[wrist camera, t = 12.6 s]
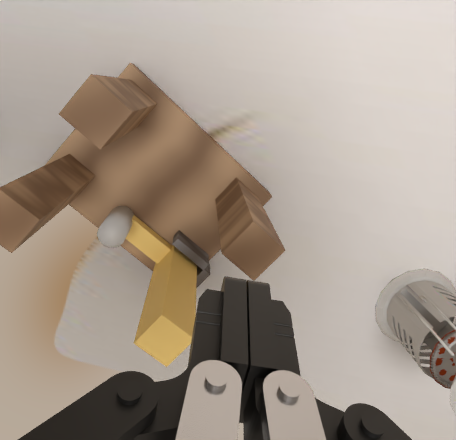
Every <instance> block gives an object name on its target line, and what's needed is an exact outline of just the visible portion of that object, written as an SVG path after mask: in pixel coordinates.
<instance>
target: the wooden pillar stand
mask: <svg viewBox="0 0 456 440" xmlns="http://www.w3.org/2000/svg"><path fill="white" fill-rule="evenodd" d="M59 115H60V116H62V117H63V118H64V119H65V120H66V121H67V122H69V123H70V124H71V125H72V126H73V127H74V128H76V129H75V130H74V131H73V132H72V133H71V135H70V136H69V137H68V138H67V139H66V141H65V142H64V143H63V144H62V145H61V147H60V148H59V149H58V150H57V151H56V153H55V154H54V155H53V156H52V157H51V159H50V160H49V161H48V162H47V163H46V165H45V166H43V167H41V168H39V169H37V170H35V171H33V172H31V173H29V174H27V175H25V176H22V177H20V178H18V179H16V180H14V181H12V182H10V183H8V184H6V185H4V186H2V187H0V245H1V246H2V247H4V248H5V249H7V250H8V251H9V252H11V253H12V252H13V251H14V250H16V249H17V248H18V247H19V246H20V245H21V244H23V243H24V242H25V241H26V240H27V239H28V238H29V237H31V236H32V235H33V234H34V233H35V232H37V231H38V230H39V229H40V228H41V227H42V226H44V225H45V224H46V223H47V222H48V221H49V220H51V219H52V218H53V217H54V216H55V215H56V214H58V213H59V212H60V211H61V210H62V209H63V208H65V207H66V206H67V205H68V204H69V205H70V206H71V207H73V208H74V209H75V210H76V211H78V212H79V213H80V214H81V215H83V216H84V217H85V218H87V219H88V220H89V221H90V222H92V223H93V224H94V225H96V226H97V227H98V228H99V227H100V226H101V224H102V223H103V222H104V220H105V219H106V218H107V216H108V215H109V214H110V212H111V211H112V210H113V209H114V208H115V207H117V206H126V207H128V208H130V209H131V210H132V211H133V213H134V215H135V216H136V217H137V218H138V219H140V220H141V221H142V222H143V223H145V224H146V225H147V226H148V227H150V228H151V229H152V230H153V231H154V232H156V233H157V234H158V235H159V236H161V237H162V238H163V239H164V240H165V241H167V242H168V243H169V244H170V245H173V246H175V247H176V248H177V249H178V250H180V251H181V252H182V253H183V254H184V255H186V256H187V257H188V258H189V259H190V260H192V261H193V262H194V263H195V264H196V265H197V283H196V288H197V287H198V286H199V285H200V284H201V283H202V282H203V281H204V280H205V279H206V278H207V277H208V276H209V275H210V264H209V260H210V259H211V258H212V257H213V256H214V255H215V254H216V253H217V252H218V251H219V250H220V249H221V251H222V254H223V255H224V256H225V257H227V258H228V259H229V260H230V261H231V262H232V263H234V264H235V265H236V266H237V267H238V268H240V269H241V270H242V271H243V272H244V273H245V274H247V275H248V276H249V277H250V278H251V279H252V280H255V279H256V278H257V277H258V276H259V275H260V274H262V273H263V272H264V271H265V270H266V269H267V268H268V267H269V266H270V265H271V264H272V263H273V262H274V261H275V260H276V259H277V258H278V257H279V256H280V255H281V254H282V253H283V252H284V251H285V249H284V247H283V245H282V243H281V241H280V239H279V237H278V235H277V233H276V231H275V229H274V227H273V225H272V223H271V221H270V219H269V218H268V216H267V214H266V212H265V210H264V208H263V206H264V205H265V204H266V203H267V202H268V201H269V200H270V199H271V198H272V196H271V194H270V193H269V191H268V190H266V189H265V188H264V187H263V186H262V185H261V184H260V183H259V182H258V181H257V180H256V179H255V178H254V177H253V176H252V175H251V174H250V173H248V172H247V171H246V170H245V169H244V168H243V167H242V166H241V165H240V164H239V163H238V162H237V161H236V160H235V159H234V158H233V157H231V156H230V155H229V154H228V153H227V152H226V151H225V150H224V149H223V148H222V147H221V146H220V145H219V144H218V143H217V142H216V141H215V140H213V139H212V138H211V137H210V136H209V135H208V134H207V133H206V132H205V131H204V130H203V129H202V128H201V127H200V126H199V125H198V124H197V123H195V122H194V121H193V120H192V119H191V118H190V117H189V116H188V115H187V114H186V113H185V112H184V111H183V110H182V109H181V108H180V107H179V106H177V105H176V104H175V103H174V102H173V101H172V100H171V99H170V98H169V97H168V96H167V95H166V94H165V93H164V92H163V91H162V90H161V89H159V88H158V87H157V86H156V85H155V84H154V83H153V82H152V81H151V80H150V79H149V78H148V77H147V76H146V75H145V74H144V73H143V72H141V71H140V70H139V69H138V68H137V67H136V66H135V65H134V64H132V63H130V64H129V65H128V66H127V67H126V68H125V70H124V71H123V72H122V73H121V74H120V76H119V77H118V78H115V77H107V76H100V75H92V74H91V75H90V76H89V77H88V79H87V80H86V81H85V82H84V84H83V85H82V86H81V87H80V88H79V90H78V91H77V92H76V93H75V95H74V96H73V97H72V98H71V100H70V101H69V102H68V103H67V104H66V106H65V107H64V108H63V109H62V111H61V112H60V113H59ZM121 246H122V247H123V248H124V249H126V250H127V251H128V252H129V253H131V254H132V255H133V256H134V257H136V258H137V259H138V260H140V261H141V262H142V263H143V264H145V265H146V266H147V267H148V268H150V269H151V270H152V271H153V270H154V266H155V263H156V262H154V261H153V260H152V259H150V258H149V257H148V256H147V255H145V254H144V253H143V252H142V251H140V250H139V249H138V248H137V247H135V246H134V245H133V244H132V243H130V242H129V241H128V240H127V239H125V240H124V242H123V243H122V244H121Z"/></svg>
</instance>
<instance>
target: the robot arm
mask: <svg viewBox="0 0 456 440" xmlns="http://www.w3.org/2000/svg"><path fill="white" fill-rule="evenodd" d="M239 422H240V423H244V440H412V439H411V438H410V437H409V436H408V435H407V434H406V433H404V432H403V431H402V430H401V429H400V428H399V427H398V426H397V425H396V424H395V423H394V422H393V421H392V420H391V419H390V418H389V417H388V416H387V415H385V414H384V413H383V412H382V411H380V410H379V409H377V408H375V407H373V406H371V405H367V404H362V403H358V404H353V405H351V406H349V407H348V408H347V409H346V411H345V412H343V411H341V410H338V409H336V408H334V407H332V406H329V405H327V404H325V403H323V402H321V401H320V400H318V399H316V398H315V396H314V393H313V390H312V388H311V386H310V385H309V384H308V382H307V381H306V380H305V379H303V378H302V377H301V376H300V370H299V364H298V357H297V351H296V345H295V339H294V332H293V328H292V320H291V314H290V312H289V310H288V309H287V307H286V306H285V304H284V303H283V301H277V300H271V294H270V285H269V284H268V283H261V282H255V281H249V280H247V282H246V280H244V279H237V278H231V277H224V279H223V283H222V288H221V291H215V290H209V289H207V290H206V291H205V292H204V293H203V294H202V296H201V297H200V298H199V302H198V307H197V312H196V317H195V323H194V328H193V333H192V341H191V348H190V355H189V362H188V368H187V369H186V370H185V371H184V372H183V373H182V374H181V375H179V376H178V377H176V378H173V379H170V380H166V381H159V382H154V381H153V380H152V379H151V378H150V377H149V376H147V375H145V374H143V373H140V372H136V371H127V372H122V373H119V374H116V375H114V376H113V377H111V378H109V379H108V380H107V381H105V382H104V383H102V384H100V385H99V386H98V387H96V388H95V389H93V390H92V391H90V392H89V393H87V394H86V395H84V396H83V397H81V398H80V399H78V400H77V401H75V402H74V403H72V404H71V405H69V406H68V407H66V408H65V409H63V410H62V411H60V412H59V413H57V414H56V415H54V416H53V417H51V418H50V419H48V420H47V421H45V422H44V423H42V424H41V425H39V426H38V427H36V428H35V429H33V430H32V431H30V432H29V433H27V434H26V435H24V436H23V437H21V438H20V439H18V440H238V429H239Z"/></svg>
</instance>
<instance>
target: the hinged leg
mask: <svg viewBox="0 0 456 440" xmlns="http://www.w3.org/2000/svg"><path fill="white" fill-rule="evenodd" d="M97 236H98V239H99V241H100V242H101V243H102V244H103V245H105V246H107V247H111V248H114V247H118V246H120V245H121V244H122V243H123V242H124V240H125V239H127V240H128V241H129V242H130V243H132V244H133V245H134V246H135V247H137V248H138V249H139V250H140V251H142V252H143V253H144V254H145V255H147V256H148V257H149V258H150V259H152V260H153V261H154V262H156V263H155V266H154V270H153V274H152V277H151V281H150V285H149V289H148V292H147V296H146V300H145V303H144V307H143V311H142V315H141V318H140V322H139V326H138V329H137V333H136V337H135V341H134V344H135V345H137V346H138V347H140V348H141V349H142V350H144V351H145V352H147V353H148V354H149V355H151V356H152V357H154V358H155V359H156V360H158V361H159V362H161V363H162V364H163V365H165V366H166V367H167V366H168V365H169V364H170V363H171V362H172V361H173V360H174V359H175V358H176V357H177V356H178V355H179V354H181V353H182V352H183V351H184V350H185V349H186V348H187V347H188V346H189V345H190V344H191V341H192V333H193V328H194V323H195V316H196V283H197V265H196V264H195V263H194V262H193V261H192V260H190V259H189V258H188V257H187V256H186V255H184V254H183V253H182V252H181V251H180V250H178V249H177V248H176V247H175V246H173V245H170V244H169V243H168V242H167V241H165V240H164V239H163V238H162V237H161V236H159V235H158V234H157V233H156V232H154V231H153V230H152V229H151V228H150V227H148V226H147V225H146V224H145V223H143V222H142V221H141V220H140V219H138V218H137V217H136V216H135V215H134V213H133V211H132V210H131V209H130V208H128V207H126V206H117V207H115V208H114V209H113V210H112V211H111V212H110V214H109V215H108V216H107V218H106V219H105V220H104V222H103V223H102V224H101V226H100V227H99V229H98V232H97Z"/></svg>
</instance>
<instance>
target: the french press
mask: <svg viewBox="0 0 456 440" xmlns="http://www.w3.org/2000/svg"><path fill="white" fill-rule="evenodd" d="M375 311H376V322H377V324H378V326H379V327H380V329H381V331H382V333H384V334H385V335H387V336H388V337H389V338H391V339H392V340H394V341H399V342H401V344H402V345H403V346H404V347H405V348H406V350H407V348H408V349H409V351H408V350H407V351H408V352H409V354H411V356H412V358H413V359H414V360H415V361H416V362H417V363H418V365H419V367H420V368H421V369H422V370H423V372H424V373H425V374H427V375H428V376H430V377H432V378H433V379H434V380H435V381H436V382H437V383H439V384H440V385H442V386H443V387H445V388H449V389H450V405H451V407H452V409H453V411H454V413H455V415H456V325H454V324H453V319H454V316H456V291H455V289H454V287H453V284H452V282H451V281H450V280H449V279H448V278H446V277H445V276H444V275H443V274H441V273H440V272H436V271H432V270H428V269H420V270H413V271H408V272H406V273H404V274H402V275H400V276H398V277H396V278H395V279H393V280H392V281H391V282H390V283H389V284H388V285H387V286H386V287H385V288H384V289H383V291H382V292H381V294H380V296H379V299H378V301H377V304H376V306H375ZM402 342H403V343H402ZM405 343H407V345H406V344H405ZM410 343H412V346H410ZM422 343H426V344H427V345H428V346H421V345H422ZM411 349H413V352H412V351H411ZM425 349H431V350H432V352H427V353H421V352H420V350H425ZM413 355H414V356H415V358H414V357H413ZM419 356H426V357H427V356H430V360H424V359H419ZM420 363H424V364H430V367H422V366H421V365H420Z"/></svg>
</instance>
